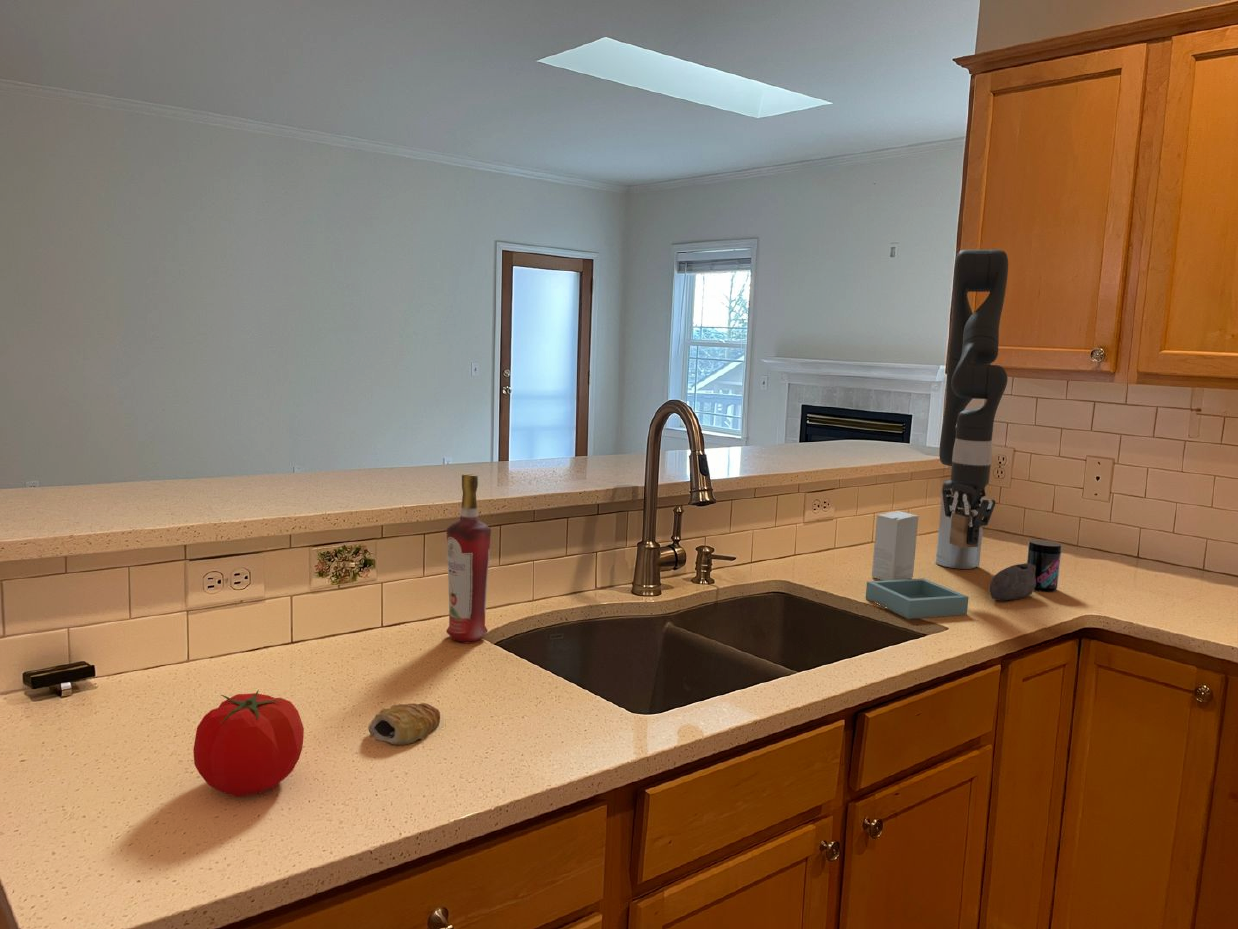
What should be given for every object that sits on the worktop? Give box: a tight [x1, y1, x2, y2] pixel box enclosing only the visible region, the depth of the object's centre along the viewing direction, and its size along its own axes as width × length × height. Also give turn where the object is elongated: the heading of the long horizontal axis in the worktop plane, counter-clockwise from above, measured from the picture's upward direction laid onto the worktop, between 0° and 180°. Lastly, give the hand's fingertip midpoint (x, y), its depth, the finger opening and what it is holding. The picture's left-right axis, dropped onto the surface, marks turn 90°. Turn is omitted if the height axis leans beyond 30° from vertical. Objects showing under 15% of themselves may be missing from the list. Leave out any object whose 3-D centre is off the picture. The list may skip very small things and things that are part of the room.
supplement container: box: [1026, 538, 1063, 593], centre depth 202 cm, size 7×7×10 cm
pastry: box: [367, 702, 441, 746], centre depth 118 cm, size 9×7×4 cm
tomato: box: [192, 689, 305, 798], centre depth 102 cm, size 12×12×10 cm
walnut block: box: [949, 513, 980, 548], centre depth 191 cm, size 4×4×7 cm
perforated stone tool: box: [988, 562, 1036, 602], centre depth 193 cm, size 15×5×7 cm, turn 124°
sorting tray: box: [865, 577, 969, 620], centre depth 184 cm, size 14×14×4 cm
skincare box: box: [871, 510, 920, 581], centre depth 205 cm, size 8×6×15 cm
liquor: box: [446, 473, 492, 643], centre depth 152 cm, size 7×7×28 cm
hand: (963, 541), depth 191 cm, fingers closed on walnut block, 4 cm apart
